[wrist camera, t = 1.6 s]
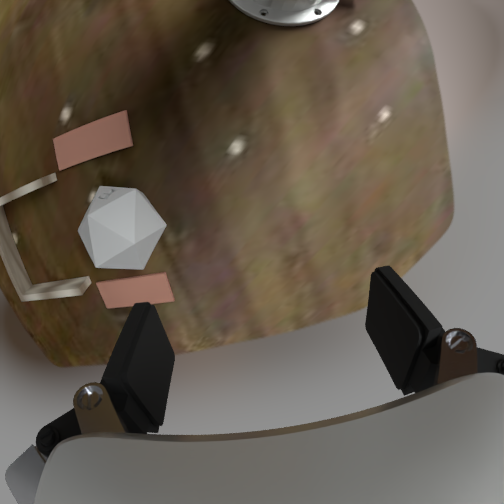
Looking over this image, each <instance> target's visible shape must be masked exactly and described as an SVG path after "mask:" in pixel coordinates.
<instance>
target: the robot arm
mask: <svg viewBox="0 0 504 504" xmlns="http://www.w3.org/2000/svg"><path fill="white" fill-rule="evenodd" d="M229 1H230V2H231V3H232V4H233V5H234V6H235V7H236V8H237V9H238V10H240V11H241V12H243V13H244V14H246V15H247V16H250V17H252V18H254V19H256V20H259V21H262V22H265V23H268V24H274V25H280V26H301V25H307V24H311V23H314V22H317V21H319V20H321V19H323V18H325V17H326V16H327V15H329V14H330V13H331V12H332V11H333V10H334V9H335V7H336V6H337V4H338V3H339V0H229ZM314 13H316V14H317V15H316V14H314ZM261 14H265V15H266V16H262V15H261ZM365 325H366V330H367V333H368V334H369V336H370V338H371V340H372V342H373V344H374V345H375V347H376V349H377V351H378V353H379V355H380V357H381V358H382V360H383V362H384V364H385V366H386V368H387V370H388V372H389V374H390V376H391V378H392V380H393V382H394V384H395V386H396V388H397V389H401V390H402V392H403V394H404V395H407V394H409V393H412V392H415V394H412V395H409V396H407V397H404V398H401V399H398V400H395V401H392V402H389V403H386V404H383V405H380V406H377V407H373V408H370V409H366V410H363V411H360V412H356V413H352V414H348V415H344V416H340V417H336V418H331V419H327V420H322V421H318V422H313V423H308V424H302V425H297V426H291V427H284V428H278V429H270V430H263V431H253V432H243V433H233V434H232V433H230V434H214V435H156V434H147V432H152V433H153V432H154V433H158V430H159V426H162V424H163V422H164V416H165V410H166V404H167V398H168V392H169V387H170V382H171V376H172V371H173V365H174V361H175V355H174V351H173V349H172V347H171V344H170V342H169V340H168V337H167V335H166V333H165V330H164V328H163V325H162V323H161V321H160V318H159V316H158V313H157V310H156V308H155V306H154V305H151V304H150V303H149V302H140V303H135V304H134V306H133V308H132V310H131V312H130V314H129V316H128V318H127V321H126V323H125V325H124V327H123V329H122V332H121V334H120V336H119V338H118V341H117V343H116V345H115V347H114V350H113V352H112V355H111V357H110V359H109V362H108V364H107V367H106V369H105V372H104V374H103V377H102V380H101V382H100V383H96V382H95V383H89V384H85V385H84V386H82V387H81V388H80V389H79V390H78V391H77V392H76V394H75V395H74V399H73V405H74V408H73V409H72V410H70V411H69V412H67V413H65V414H64V415H62V416H61V417H59V418H57V419H56V420H54V421H52V422H51V423H49V424H47V425H46V426H44V427H43V428H42V429H41V430H40V431H39V432H38V435H37V437H36V446H34V445H31V446H30V447H29V448H28V449H27V450H26V451H25V452H24V453H23V454H22V455H21V456H19V458H17V459H16V460H15V461H14V462H13V463H12V464H11V465H10V466H9V467H8V469H7V470H6V474H5V479H6V482H7V485H8V487H9V488H10V490H11V492H12V494H13V496H14V497H15V499H16V501H17V503H18V504H504V355H502V354H499V353H495V352H492V351H488V350H484V349H481V348H477V344H476V339H475V338H474V336H473V335H472V334H471V333H470V332H468V331H466V330H464V329H461V328H453V329H449V330H447V331H446V332H445V331H444V329H443V328H442V325H441V324H440V323H439V322H438V320H437V319H436V318H435V317H434V315H433V314H432V313H431V312H430V311H429V310H428V308H427V307H426V306H425V305H424V304H423V302H422V301H421V300H420V299H419V298H418V297H417V295H416V294H415V293H414V292H413V291H412V290H411V289H410V288H409V286H408V285H407V284H406V283H405V282H404V281H403V280H402V279H401V278H400V276H399V275H398V274H397V273H396V272H395V271H394V270H393V269H392V268H391V267H390V266H384V267H378V268H376V269H375V271H374V272H372V274H371V281H370V290H369V300H368V308H367V316H366V323H365Z"/></svg>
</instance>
